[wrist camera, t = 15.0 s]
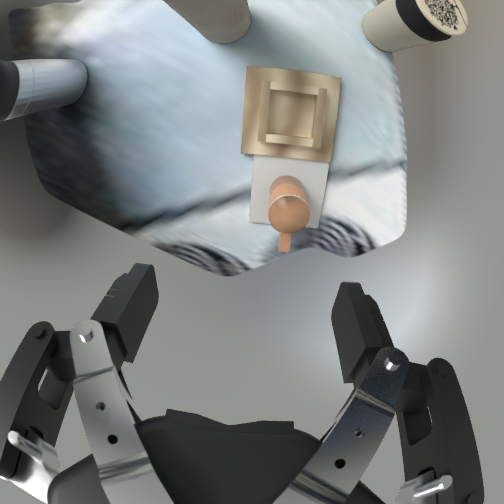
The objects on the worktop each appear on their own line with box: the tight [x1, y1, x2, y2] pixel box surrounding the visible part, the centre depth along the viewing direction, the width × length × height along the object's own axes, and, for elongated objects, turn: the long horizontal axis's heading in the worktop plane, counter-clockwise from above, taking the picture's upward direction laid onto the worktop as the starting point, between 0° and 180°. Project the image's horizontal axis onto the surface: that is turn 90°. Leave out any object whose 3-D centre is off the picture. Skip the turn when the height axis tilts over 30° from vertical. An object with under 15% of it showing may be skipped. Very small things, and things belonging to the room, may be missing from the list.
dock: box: [241, 66, 341, 163], centre depth 36 cm, size 14×14×3 cm
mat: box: [249, 154, 329, 228], centre depth 44 cm, size 12×12×1 cm
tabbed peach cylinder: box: [268, 176, 310, 252], centre depth 41 cm, size 10×6×9 cm, turn 178°
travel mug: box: [362, 0, 468, 52], centre depth 20 cm, size 8×8×18 cm
